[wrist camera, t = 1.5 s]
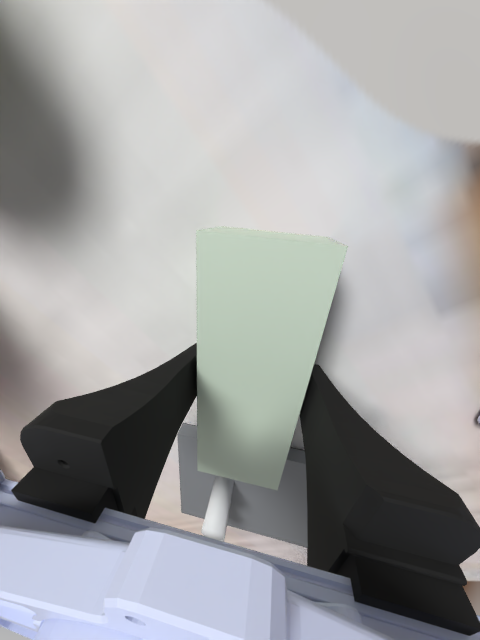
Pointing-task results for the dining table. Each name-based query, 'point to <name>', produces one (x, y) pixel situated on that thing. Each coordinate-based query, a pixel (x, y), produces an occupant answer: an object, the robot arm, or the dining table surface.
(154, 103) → the dining table surface
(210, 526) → the peg stand
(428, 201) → the dining table surface
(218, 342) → the pale green block
